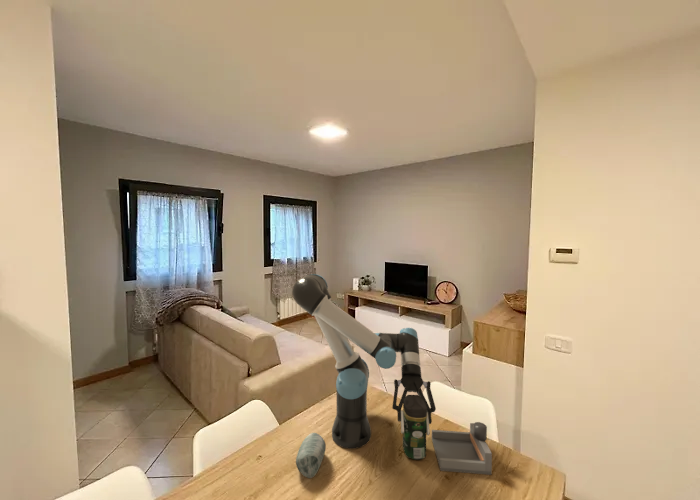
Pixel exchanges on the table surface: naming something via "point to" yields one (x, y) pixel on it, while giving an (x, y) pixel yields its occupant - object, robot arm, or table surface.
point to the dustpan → (463, 450)
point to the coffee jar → (414, 427)
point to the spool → (310, 455)
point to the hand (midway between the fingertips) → (415, 433)
